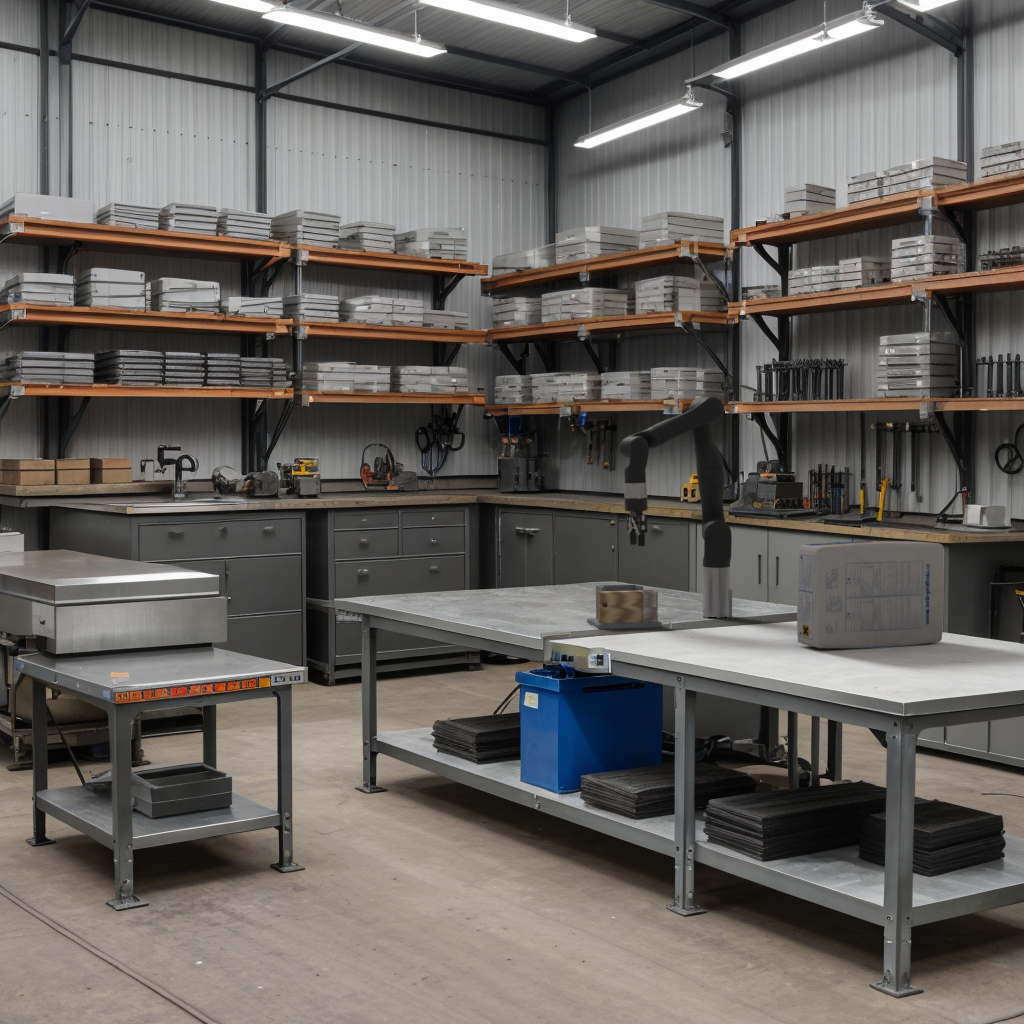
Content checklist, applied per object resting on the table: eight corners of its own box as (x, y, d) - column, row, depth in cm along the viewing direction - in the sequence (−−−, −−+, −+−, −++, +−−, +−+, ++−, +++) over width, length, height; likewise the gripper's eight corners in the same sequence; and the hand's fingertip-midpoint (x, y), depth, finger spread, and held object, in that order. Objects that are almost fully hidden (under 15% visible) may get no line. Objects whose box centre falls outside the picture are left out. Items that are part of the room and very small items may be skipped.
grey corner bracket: (648, 621, 407) (648, 583, 406) (661, 627, 392) (661, 588, 391) (587, 623, 403) (587, 585, 402) (598, 629, 388) (598, 590, 387)
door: (653, 620, 398) (653, 589, 397) (657, 622, 392) (657, 591, 392) (596, 621, 394) (596, 591, 394) (600, 624, 389) (600, 592, 389)
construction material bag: (920, 638, 364) (921, 538, 362) (945, 644, 353) (946, 541, 352) (794, 646, 350) (795, 542, 349) (816, 652, 340) (817, 545, 338)
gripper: (618, 496, 409) (620, 544, 410) (631, 497, 395) (633, 547, 396) (639, 495, 410) (641, 543, 411) (653, 496, 397) (655, 546, 397)
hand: (637, 545), depth 403 cm, fingers open, 8 cm apart
